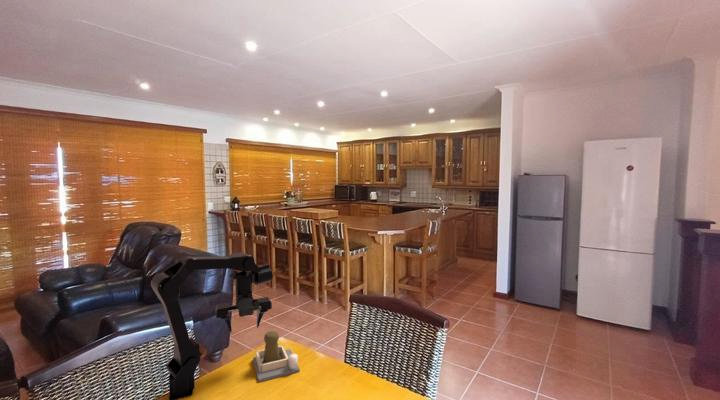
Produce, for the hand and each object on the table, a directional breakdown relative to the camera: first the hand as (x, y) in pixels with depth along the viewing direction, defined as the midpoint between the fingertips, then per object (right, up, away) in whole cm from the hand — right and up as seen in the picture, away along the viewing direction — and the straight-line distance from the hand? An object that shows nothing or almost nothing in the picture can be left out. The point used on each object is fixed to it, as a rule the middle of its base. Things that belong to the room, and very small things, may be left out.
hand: (244, 329), depth 117 cm
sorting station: (+11, -13, 0) cm, 17 cm away
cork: (+10, -12, +1) cm, 16 cm away
